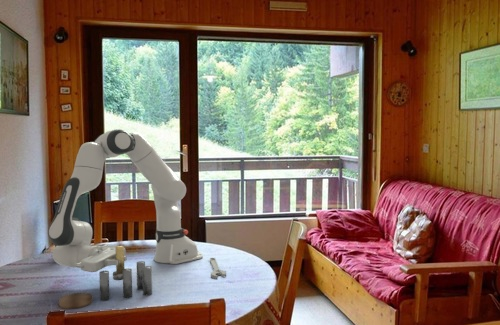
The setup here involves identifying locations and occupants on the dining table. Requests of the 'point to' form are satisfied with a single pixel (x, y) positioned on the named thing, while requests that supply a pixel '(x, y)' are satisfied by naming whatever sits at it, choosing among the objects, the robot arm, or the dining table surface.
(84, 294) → the walnut plate
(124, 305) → the dining table surface
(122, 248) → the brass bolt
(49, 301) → the dining table surface
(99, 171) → the robot arm
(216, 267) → the adjustable wrench
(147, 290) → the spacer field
